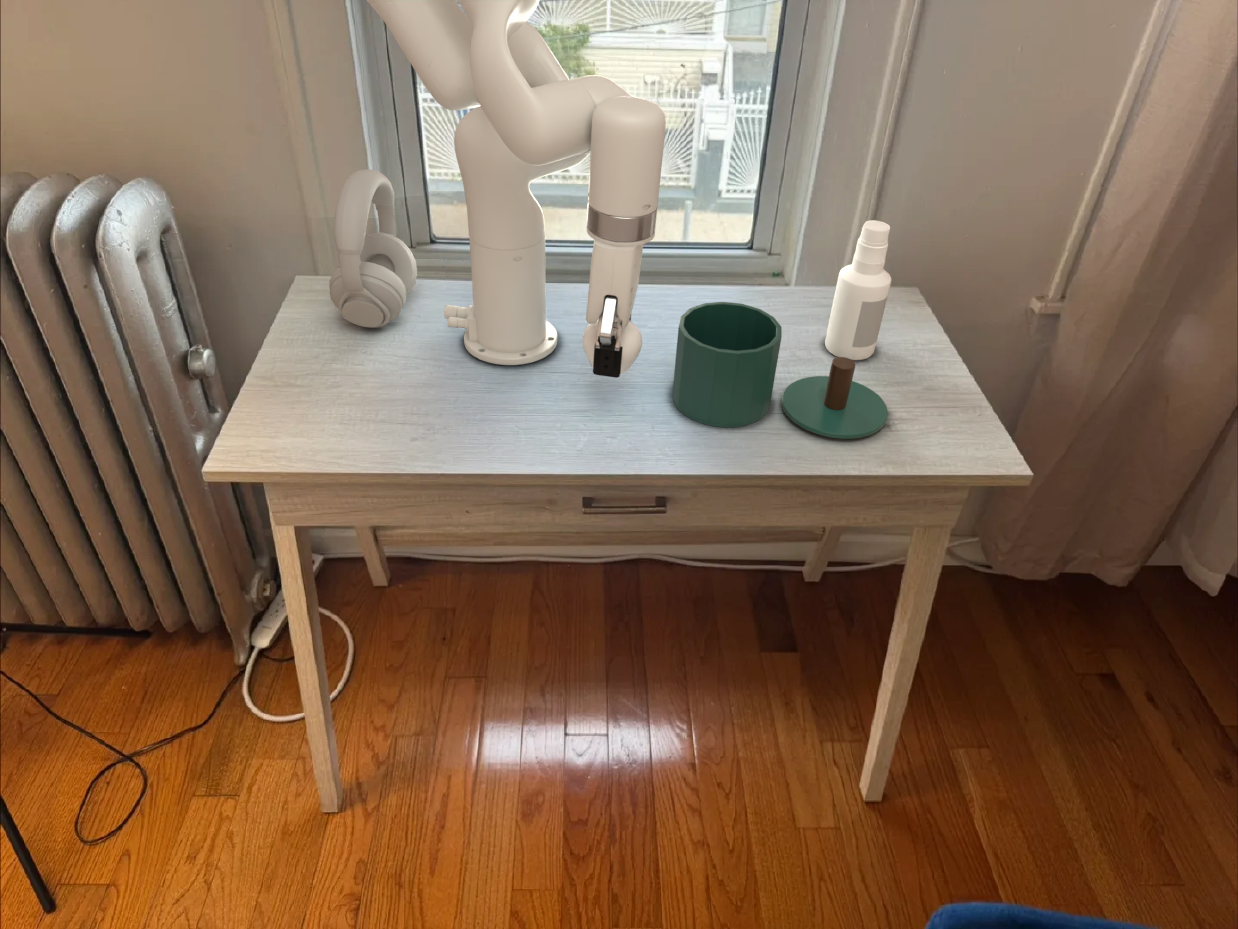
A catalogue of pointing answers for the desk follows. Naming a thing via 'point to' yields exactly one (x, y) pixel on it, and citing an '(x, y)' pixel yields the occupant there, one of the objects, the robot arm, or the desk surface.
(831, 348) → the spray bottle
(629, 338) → the plain white apple
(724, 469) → the desk surface
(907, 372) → the desk surface
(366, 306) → the headphones
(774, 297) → the desk surface
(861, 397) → the lid
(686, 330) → the pot
